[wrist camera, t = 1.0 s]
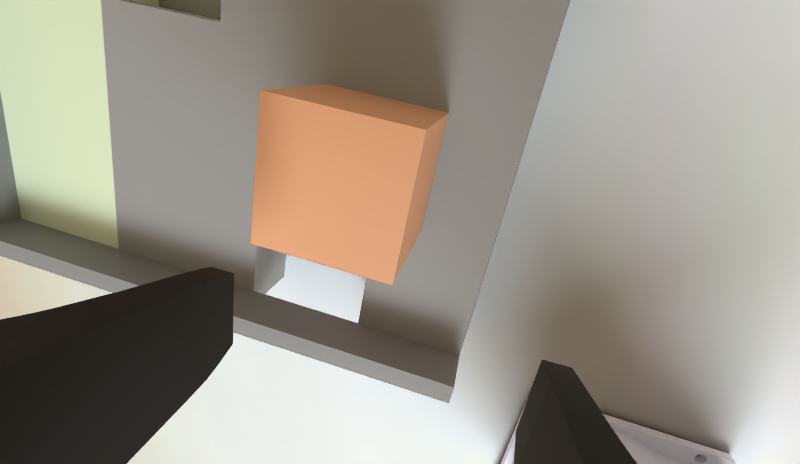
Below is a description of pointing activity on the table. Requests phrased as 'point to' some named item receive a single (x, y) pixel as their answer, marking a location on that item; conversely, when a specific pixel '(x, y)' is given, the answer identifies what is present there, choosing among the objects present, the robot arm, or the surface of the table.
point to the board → (237, 144)
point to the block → (343, 177)
